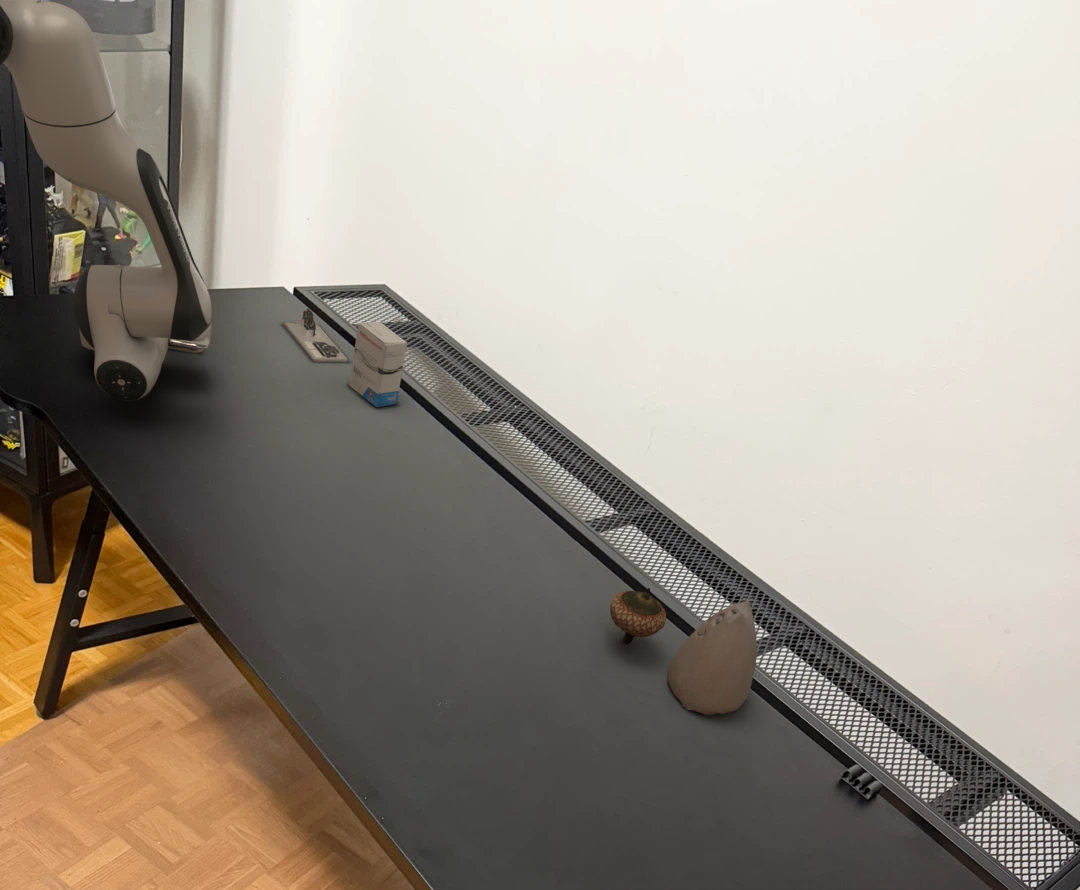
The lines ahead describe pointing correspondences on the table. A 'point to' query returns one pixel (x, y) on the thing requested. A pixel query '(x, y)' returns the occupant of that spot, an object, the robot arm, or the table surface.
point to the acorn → (637, 614)
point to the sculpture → (716, 662)
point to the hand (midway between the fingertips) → (152, 304)
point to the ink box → (377, 364)
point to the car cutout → (315, 340)
